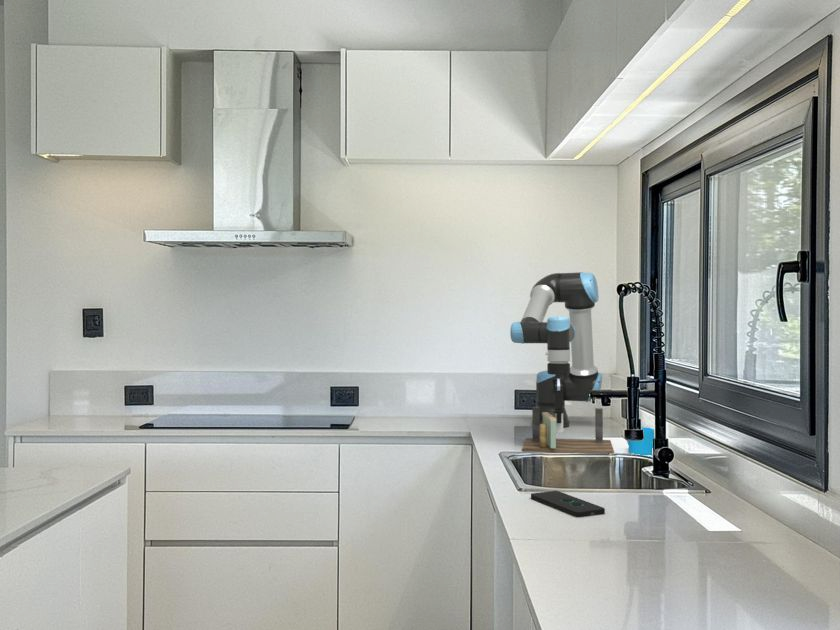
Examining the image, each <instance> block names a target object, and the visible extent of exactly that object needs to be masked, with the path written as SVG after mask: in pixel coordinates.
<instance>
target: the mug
mask: <svg viewBox="0 0 840 630" xmlns="http://www.w3.org/2000/svg"><path fill="white" fill-rule="evenodd" d="M641 428H642V429H643V431H644V439H643V440H642V441H627V440H626V442H627V445H628V453H629V452H630V453H634V454H640V455H652V448H653V443H652V442H653V438H654V439H655V429H654V428H653V427H645V426H643V427H642V426H641ZM652 456H653V455H652Z"/></svg>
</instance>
